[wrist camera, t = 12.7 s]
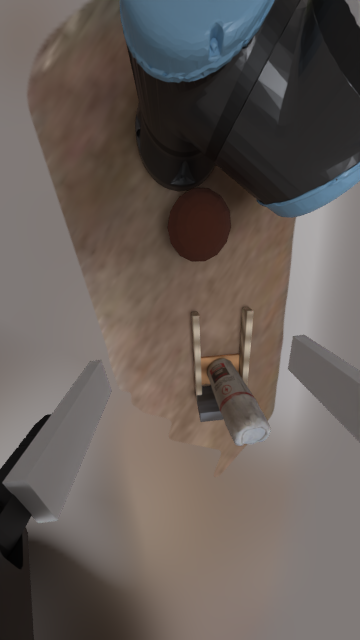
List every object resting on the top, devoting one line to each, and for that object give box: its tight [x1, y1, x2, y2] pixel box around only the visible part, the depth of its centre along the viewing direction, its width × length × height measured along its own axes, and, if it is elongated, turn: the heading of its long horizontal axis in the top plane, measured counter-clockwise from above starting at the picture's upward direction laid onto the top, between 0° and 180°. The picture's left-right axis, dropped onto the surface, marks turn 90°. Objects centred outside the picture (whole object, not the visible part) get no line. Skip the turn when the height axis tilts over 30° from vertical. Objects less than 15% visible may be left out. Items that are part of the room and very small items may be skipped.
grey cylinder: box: [207, 358, 271, 446], centre depth 40 cm, size 8×8×20 cm
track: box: [191, 307, 254, 422], centre depth 45 cm, size 27×14×9 cm, turn 4°
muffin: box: [168, 188, 231, 261], centre depth 32 cm, size 12×11×10 cm
